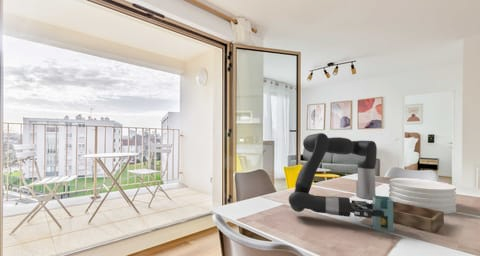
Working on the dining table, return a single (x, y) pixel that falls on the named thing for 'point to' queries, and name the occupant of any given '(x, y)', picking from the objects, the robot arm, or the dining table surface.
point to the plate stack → (423, 193)
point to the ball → (383, 222)
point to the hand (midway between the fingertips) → (381, 210)
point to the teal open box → (387, 207)
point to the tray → (417, 217)
